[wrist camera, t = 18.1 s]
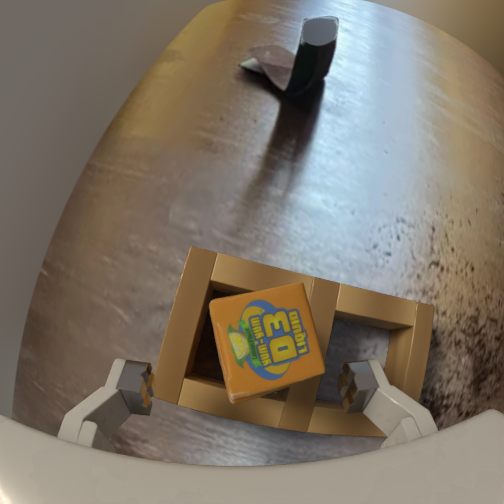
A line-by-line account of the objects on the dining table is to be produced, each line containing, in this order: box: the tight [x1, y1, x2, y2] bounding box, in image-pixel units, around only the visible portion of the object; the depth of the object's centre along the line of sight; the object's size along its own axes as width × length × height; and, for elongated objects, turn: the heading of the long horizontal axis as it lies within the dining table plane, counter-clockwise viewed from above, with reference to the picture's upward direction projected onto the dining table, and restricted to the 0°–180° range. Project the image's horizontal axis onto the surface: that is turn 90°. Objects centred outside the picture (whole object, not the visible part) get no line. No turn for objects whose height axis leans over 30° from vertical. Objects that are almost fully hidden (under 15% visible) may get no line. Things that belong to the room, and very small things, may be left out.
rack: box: [153, 246, 434, 437], centre depth 16 cm, size 16×9×3 cm, turn 76°
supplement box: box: [209, 282, 325, 404], centre depth 13 cm, size 3×3×10 cm
